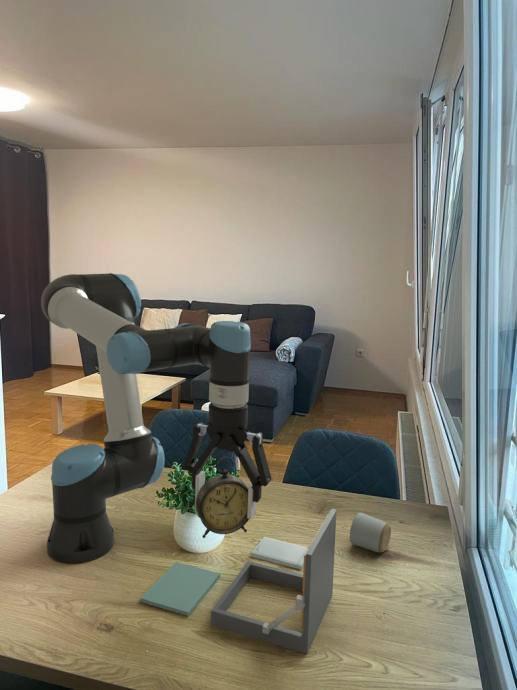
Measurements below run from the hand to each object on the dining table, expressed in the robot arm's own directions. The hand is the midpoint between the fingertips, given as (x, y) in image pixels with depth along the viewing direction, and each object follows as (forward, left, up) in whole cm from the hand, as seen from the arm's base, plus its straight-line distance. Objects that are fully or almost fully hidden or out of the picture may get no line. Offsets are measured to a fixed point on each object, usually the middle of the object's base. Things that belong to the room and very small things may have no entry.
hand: (225, 509), depth 108 cm
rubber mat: (-9, -1, -19) cm, 21 cm away
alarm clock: (0, 0, -5) cm, 5 cm away
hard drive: (+6, +20, -20) cm, 28 cm away
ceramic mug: (+24, +32, -19) cm, 45 cm away
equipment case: (+11, 0, -19) cm, 22 cm away
